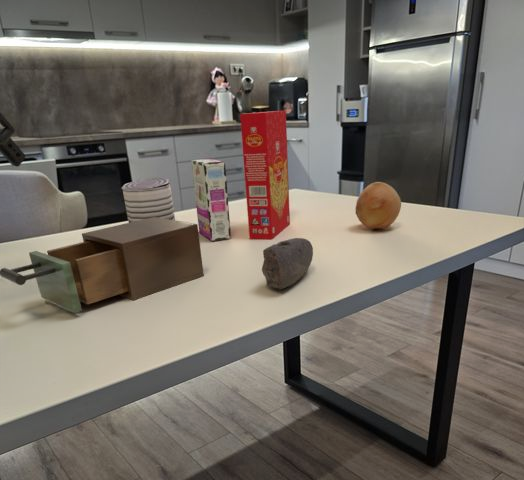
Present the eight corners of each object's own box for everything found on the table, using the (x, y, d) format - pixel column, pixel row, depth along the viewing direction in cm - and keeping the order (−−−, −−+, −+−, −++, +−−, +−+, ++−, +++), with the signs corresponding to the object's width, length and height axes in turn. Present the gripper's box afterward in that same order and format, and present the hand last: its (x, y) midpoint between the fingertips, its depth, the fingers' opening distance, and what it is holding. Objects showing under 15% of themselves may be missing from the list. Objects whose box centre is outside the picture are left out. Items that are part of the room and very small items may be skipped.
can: (186, 229, 119) (179, 178, 114) (149, 239, 112) (140, 186, 107) (157, 224, 126) (149, 177, 121) (121, 234, 119) (111, 183, 113)
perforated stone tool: (298, 266, 87) (296, 227, 83) (324, 269, 84) (324, 229, 81) (254, 293, 75) (251, 249, 72) (283, 297, 73) (281, 252, 70)
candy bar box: (232, 238, 108) (226, 160, 100) (211, 242, 106) (203, 163, 99) (218, 229, 117) (211, 157, 110) (198, 232, 116) (189, 159, 108)
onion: (408, 230, 105) (411, 182, 100) (365, 235, 103) (367, 187, 98) (387, 222, 113) (390, 177, 109) (348, 226, 111) (349, 181, 107)
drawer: (36, 326, 66) (20, 275, 63) (4, 308, 73) (-11, 261, 70) (152, 287, 78) (144, 242, 75) (115, 274, 85) (106, 234, 82)
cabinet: (132, 300, 76) (121, 243, 71) (93, 285, 84) (81, 233, 80) (203, 275, 85) (197, 224, 81) (162, 264, 93) (154, 216, 89)
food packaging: (272, 239, 105) (265, 112, 94) (249, 238, 107) (240, 114, 96) (289, 224, 118) (285, 110, 106) (269, 223, 119) (263, 112, 108)
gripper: (-42, 27, 53) (49, 145, 67) (-116, 21, 58) (-16, 131, 72) (-87, 73, 50) (18, 185, 65) (-159, 63, 56) (-48, 168, 70)
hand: (0, 157), depth 68 cm, fingers open, 8 cm apart
